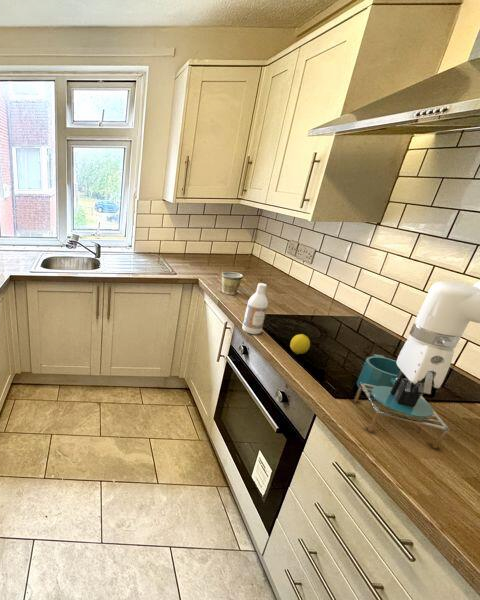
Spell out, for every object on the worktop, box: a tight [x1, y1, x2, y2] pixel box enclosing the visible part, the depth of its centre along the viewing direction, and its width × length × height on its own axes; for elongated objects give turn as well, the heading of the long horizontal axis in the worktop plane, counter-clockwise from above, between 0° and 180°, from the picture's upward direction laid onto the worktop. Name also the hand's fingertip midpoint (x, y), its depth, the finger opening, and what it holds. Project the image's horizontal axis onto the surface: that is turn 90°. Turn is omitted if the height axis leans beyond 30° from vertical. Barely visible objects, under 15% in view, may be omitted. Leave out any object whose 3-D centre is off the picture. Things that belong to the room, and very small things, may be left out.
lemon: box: [289, 333, 311, 355], centre depth 110 cm, size 6×6×8 cm
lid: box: [371, 378, 434, 419], centre depth 78 cm, size 11×11×7 cm
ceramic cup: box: [221, 271, 248, 296], centre depth 165 cm, size 13×10×10 cm
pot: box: [356, 353, 399, 397], centre depth 92 cm, size 10×16×8 cm, turn 155°
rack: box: [352, 383, 451, 449], centre depth 80 cm, size 13×13×6 cm
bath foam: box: [241, 282, 269, 335], centre depth 124 cm, size 7×7×20 cm
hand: (401, 399), depth 79 cm, fingers closed on lid, 3 cm apart
